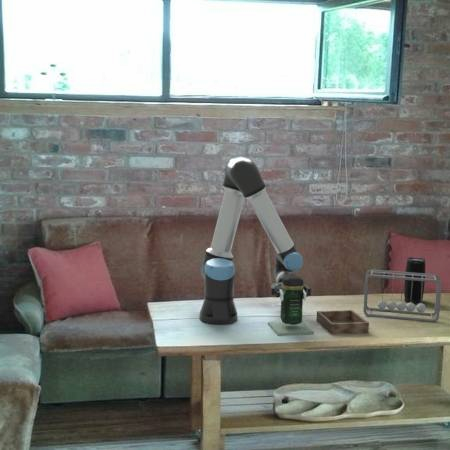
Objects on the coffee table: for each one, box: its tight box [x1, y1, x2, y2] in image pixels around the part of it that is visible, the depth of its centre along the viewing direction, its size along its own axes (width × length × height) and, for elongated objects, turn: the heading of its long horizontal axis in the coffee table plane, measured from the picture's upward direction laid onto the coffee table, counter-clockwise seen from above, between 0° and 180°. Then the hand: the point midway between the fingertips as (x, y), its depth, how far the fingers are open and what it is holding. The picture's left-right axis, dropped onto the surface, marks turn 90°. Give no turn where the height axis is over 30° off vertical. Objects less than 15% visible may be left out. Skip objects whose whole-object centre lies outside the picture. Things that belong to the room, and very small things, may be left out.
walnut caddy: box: [315, 309, 370, 335], centre depth 272 cm, size 15×17×4 cm
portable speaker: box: [403, 256, 426, 304], centre depth 310 cm, size 9×9×20 cm
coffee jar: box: [279, 272, 304, 325], centre depth 266 cm, size 10×8×19 cm
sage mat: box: [267, 320, 314, 336], centre depth 267 cm, size 14×14×1 cm
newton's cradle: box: [362, 269, 443, 323], centre depth 287 cm, size 30×10×18 cm, turn 77°
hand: (293, 297), depth 261 cm, fingers closed on coffee jar, 8 cm apart
